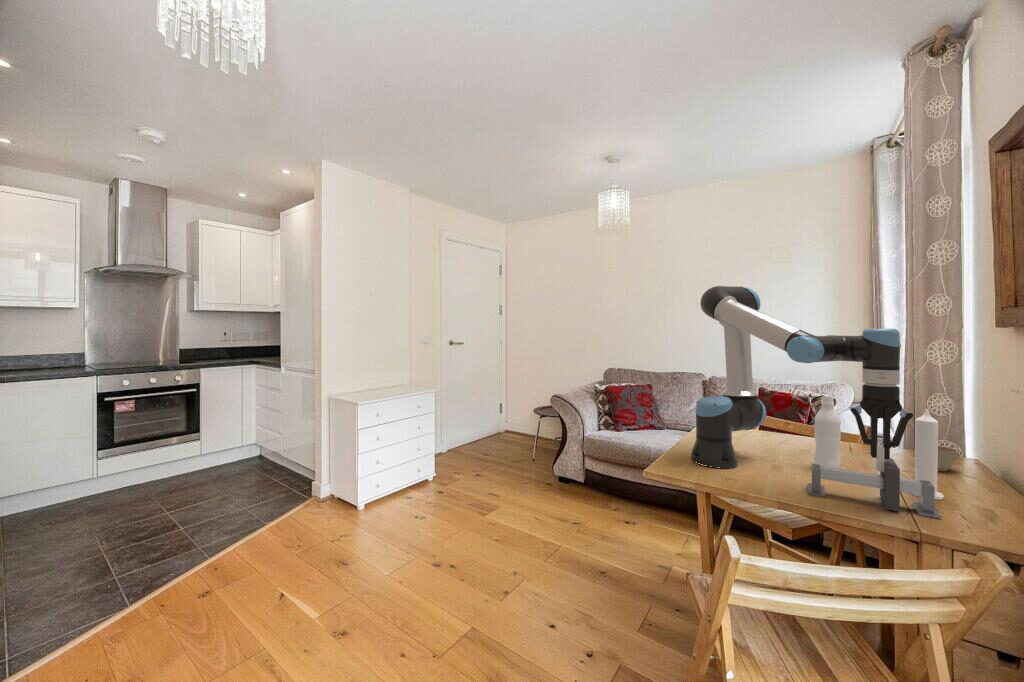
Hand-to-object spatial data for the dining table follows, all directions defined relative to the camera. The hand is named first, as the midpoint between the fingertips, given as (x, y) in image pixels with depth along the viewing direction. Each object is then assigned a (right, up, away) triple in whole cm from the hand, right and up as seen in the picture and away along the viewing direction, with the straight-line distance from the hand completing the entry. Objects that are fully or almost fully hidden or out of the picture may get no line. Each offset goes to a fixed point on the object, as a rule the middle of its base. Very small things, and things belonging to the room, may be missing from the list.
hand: (879, 469), depth 109 cm
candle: (+18, -9, +5) cm, 21 cm away
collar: (+2, -9, -1) cm, 10 cm away
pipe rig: (-2, -9, +2) cm, 10 cm away
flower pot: (+44, -8, +26) cm, 52 cm away
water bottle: (+7, -9, +27) cm, 29 cm away
